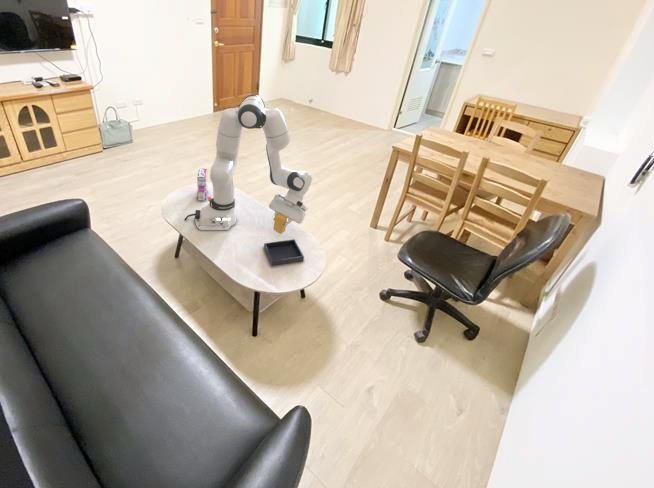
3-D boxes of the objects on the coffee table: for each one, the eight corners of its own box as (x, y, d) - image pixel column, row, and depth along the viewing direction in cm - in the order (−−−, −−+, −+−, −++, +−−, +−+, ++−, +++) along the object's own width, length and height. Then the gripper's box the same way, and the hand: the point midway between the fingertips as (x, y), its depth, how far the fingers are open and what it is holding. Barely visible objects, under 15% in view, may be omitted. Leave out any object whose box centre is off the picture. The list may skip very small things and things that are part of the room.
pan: (271, 266, 159) (272, 261, 157) (263, 248, 170) (264, 243, 168) (303, 261, 164) (304, 256, 162) (293, 244, 174) (294, 239, 173)
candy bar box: (206, 201, 200) (205, 177, 190) (197, 201, 199) (196, 177, 190) (207, 191, 209) (207, 168, 200) (199, 191, 208) (198, 168, 199)
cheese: (273, 229, 176) (274, 216, 171) (277, 226, 178) (279, 212, 173) (280, 234, 173) (282, 220, 168) (285, 230, 176) (287, 216, 171)
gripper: (274, 190, 176) (261, 213, 175) (306, 206, 166) (293, 230, 165) (278, 194, 181) (266, 216, 180) (310, 210, 172) (297, 233, 171)
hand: (279, 223), depth 173 cm, fingers closed on cheese, 5 cm apart
